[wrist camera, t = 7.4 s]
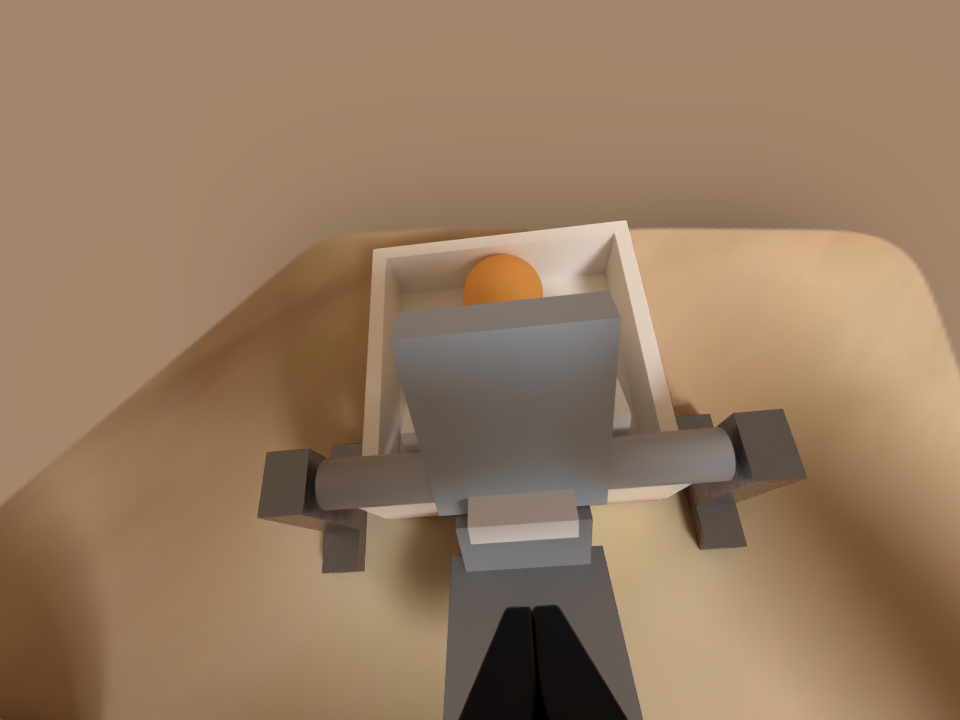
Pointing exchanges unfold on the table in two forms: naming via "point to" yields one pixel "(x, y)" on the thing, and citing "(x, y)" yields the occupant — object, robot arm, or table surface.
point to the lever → (521, 466)
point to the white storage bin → (563, 271)
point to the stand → (759, 469)
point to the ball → (501, 281)
